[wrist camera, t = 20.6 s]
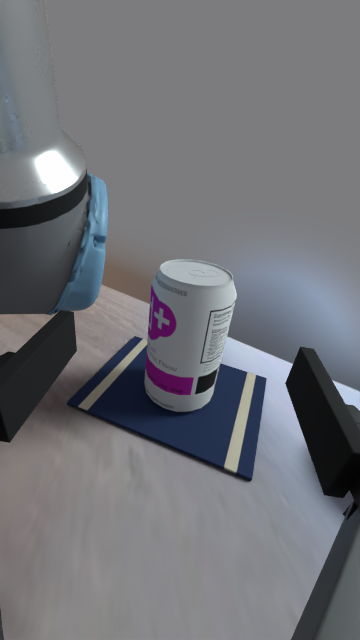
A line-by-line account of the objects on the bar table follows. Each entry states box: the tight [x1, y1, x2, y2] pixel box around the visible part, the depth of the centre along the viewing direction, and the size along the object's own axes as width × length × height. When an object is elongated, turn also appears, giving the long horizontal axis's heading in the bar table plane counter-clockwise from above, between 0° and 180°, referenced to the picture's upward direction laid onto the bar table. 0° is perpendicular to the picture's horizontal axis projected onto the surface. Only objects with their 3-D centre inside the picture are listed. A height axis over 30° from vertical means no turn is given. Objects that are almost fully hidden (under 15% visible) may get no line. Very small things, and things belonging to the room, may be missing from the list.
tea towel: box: [67, 336, 266, 481], centre depth 33 cm, size 20×15×1 cm
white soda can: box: [144, 259, 237, 412], centre depth 30 cm, size 8×8×15 cm
